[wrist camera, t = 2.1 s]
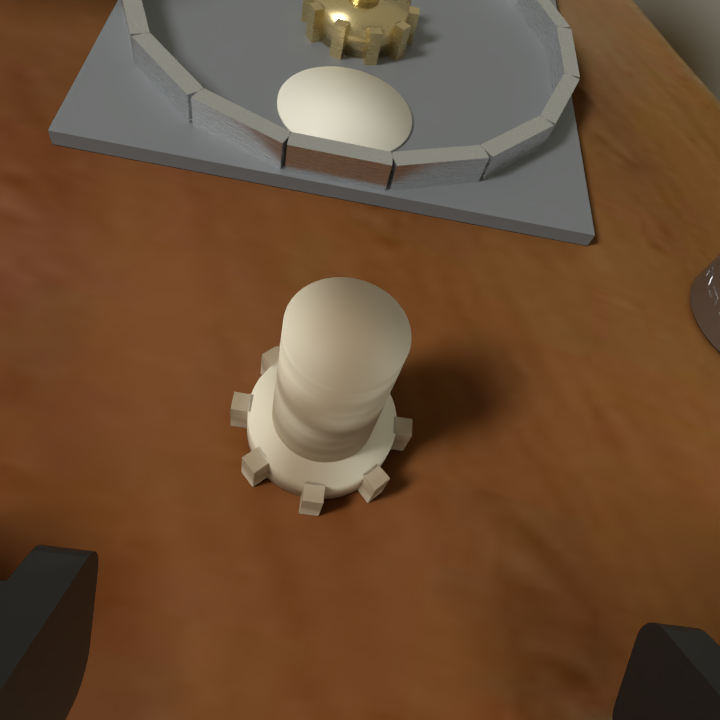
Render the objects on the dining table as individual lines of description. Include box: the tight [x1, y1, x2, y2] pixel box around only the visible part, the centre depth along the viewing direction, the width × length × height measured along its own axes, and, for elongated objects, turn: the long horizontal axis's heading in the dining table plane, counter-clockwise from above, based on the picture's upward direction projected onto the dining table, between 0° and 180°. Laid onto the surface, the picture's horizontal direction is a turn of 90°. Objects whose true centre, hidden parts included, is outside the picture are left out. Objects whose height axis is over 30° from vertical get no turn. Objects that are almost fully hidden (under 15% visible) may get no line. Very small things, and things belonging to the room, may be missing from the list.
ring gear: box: [121, 0, 580, 191], centre depth 46 cm, size 33×33×2 cm
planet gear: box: [231, 277, 413, 516], centre depth 27 cm, size 8×8×9 cm
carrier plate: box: [48, 0, 595, 246], centre depth 47 cm, size 34×34×1 cm
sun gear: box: [301, 0, 420, 65], centre depth 45 cm, size 8×8×4 cm
